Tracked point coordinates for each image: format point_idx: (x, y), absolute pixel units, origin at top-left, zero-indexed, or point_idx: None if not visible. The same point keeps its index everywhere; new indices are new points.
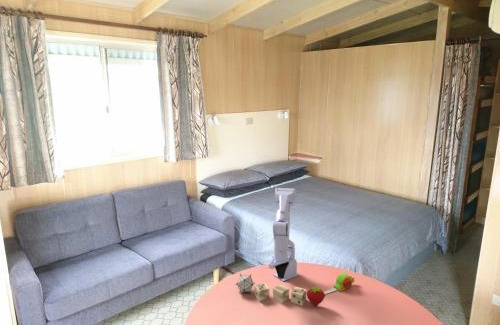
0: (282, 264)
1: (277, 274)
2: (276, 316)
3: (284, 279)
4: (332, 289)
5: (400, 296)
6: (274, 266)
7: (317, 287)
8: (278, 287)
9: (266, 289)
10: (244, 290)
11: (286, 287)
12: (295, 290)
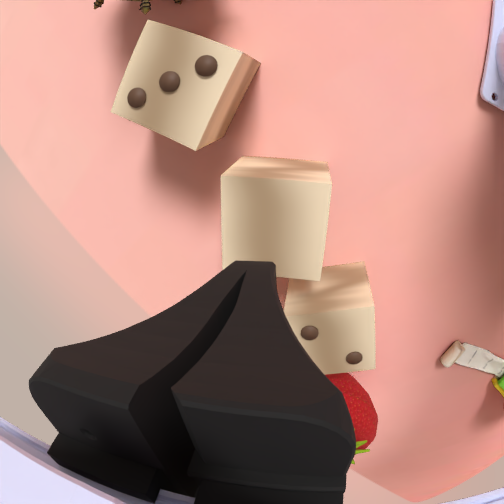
0: (182, 494)
1: (212, 280)
2: (136, 272)
3: (496, 95)
4: (496, 364)
5: (492, 462)
6: (7, 438)
7: (357, 452)
8: (271, 202)
9: (171, 138)
10: (101, 3)
11: (318, 257)
12: (322, 328)
